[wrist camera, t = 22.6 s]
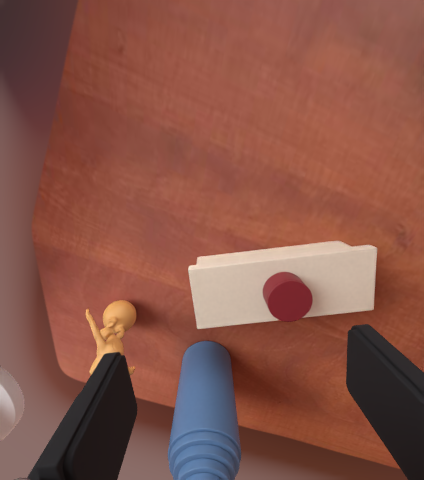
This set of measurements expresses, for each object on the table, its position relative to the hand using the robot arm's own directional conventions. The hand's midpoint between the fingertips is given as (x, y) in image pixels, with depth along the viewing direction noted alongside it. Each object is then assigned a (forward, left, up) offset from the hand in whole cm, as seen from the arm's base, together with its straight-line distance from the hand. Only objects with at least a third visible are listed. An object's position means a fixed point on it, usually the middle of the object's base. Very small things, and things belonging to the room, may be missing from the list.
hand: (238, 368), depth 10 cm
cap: (+3, -7, -12) cm, 14 cm away
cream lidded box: (+3, -7, -20) cm, 22 cm away
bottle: (-12, -14, -20) cm, 27 cm away
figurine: (-15, 0, -20) cm, 25 cm away
